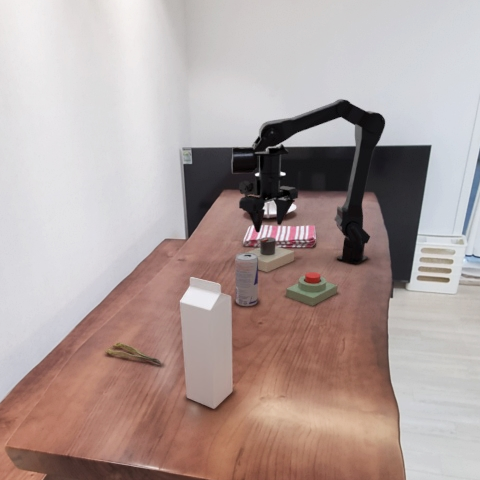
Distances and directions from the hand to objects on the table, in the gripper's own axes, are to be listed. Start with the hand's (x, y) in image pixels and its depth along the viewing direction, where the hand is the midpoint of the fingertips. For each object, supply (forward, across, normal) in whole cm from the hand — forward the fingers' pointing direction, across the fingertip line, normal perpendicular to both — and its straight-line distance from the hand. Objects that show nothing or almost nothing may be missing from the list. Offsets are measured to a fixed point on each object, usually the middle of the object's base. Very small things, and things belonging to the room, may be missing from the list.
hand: (268, 228), depth 133 cm
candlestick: (+11, -38, -32) cm, 51 cm away
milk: (+10, +56, +35) cm, 67 cm away
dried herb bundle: (+10, +58, +15) cm, 61 cm away
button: (+7, +10, +23) cm, 26 cm away
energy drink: (+10, +24, +14) cm, 30 cm away
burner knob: (+7, 0, 0) cm, 7 cm away
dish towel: (+11, -19, -11) cm, 24 cm away
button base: (+10, +10, +23) cm, 27 cm away
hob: (+10, 0, 0) cm, 10 cm away
